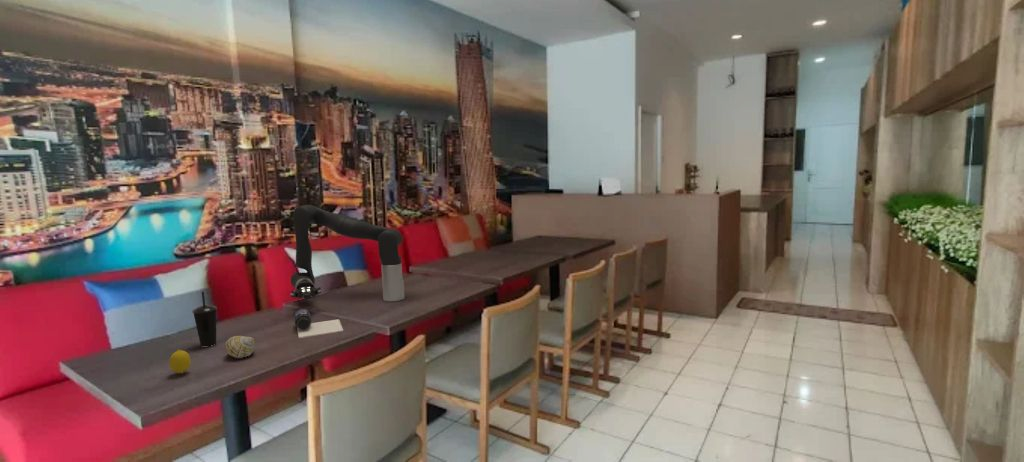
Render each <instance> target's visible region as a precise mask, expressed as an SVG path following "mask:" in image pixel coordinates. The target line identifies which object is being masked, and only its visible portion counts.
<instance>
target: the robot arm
mask: <svg viewBox="0 0 1024 462" xmlns="http://www.w3.org/2000/svg"><path fill="white" fill-rule="evenodd" d="M292 213H293V214H292V215H293V216H292V217H293V226H294V234H295V235H294V236H295V267H296V268H298V269H301V270H306V272H294V273H292V275H291V277H290V284H291V286H292V287H293V288H294V289H295V290H290V297H291V298H297V299H301V298H302V299H305V300H310V299H311V297H315V296H317V295H320V294H321V293H322V289H321V288H322V287H320V286H318V287H315V286H314V284H315V282H316V279H315V275H314V271H313V266H312V261H313V260H312V259H313V253H312V250H313V249H312V246H311V241H310V237H309V228H310V225H318V226H322V227H326V228H328V229H330V230H331V231H332V232H334V233H336V234H338V235H341V236H344V237H347V238H351V239H355V240H356V239H358V240H371V241H374V242H377V246H378V257H379V259H380V264H381V267H380V268H381V279H382V297H383V301H384V302H388V303H389V302H399V301H401V300H405V284H404V283H405V282H404V278H403V267H402V257H401V256H400V254H399V246H400V245H401V244H402V242H403V238H404V237H403V234H402V233H401V232H400V231H399V230H398V229H396V228H391V227H388V226H387V227H385V226H379V225H376V224H373V223H370V222H368V221H364V220H361V219H358V218H355V217H351V216H347V215H344V214H340V213H336V212H335V213H334V212H331V211H327V210H324V209H322V208H320V207H317V206H315V205H312V204H304V205H300V206H297V207H295V209H294V210H293V211H292Z"/></svg>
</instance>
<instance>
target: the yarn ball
mask: <svg viewBox="0 0 1024 462" xmlns="http://www.w3.org/2000/svg"><path fill="white" fill-rule="evenodd" d="M255 344H256V343H255V339H254V338H253V337H250V336H244V335H234V336H231V337H230V338H228V340H226V342H225V344H224V347H225V351H226V352H227V354H228V355H229V356H231V357H232V358H235V359H244V358H243V357H245V358H247V356H248V357H249V356H251V355H252V354H253V352H254V351H255V346H256V345H255Z"/></svg>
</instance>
